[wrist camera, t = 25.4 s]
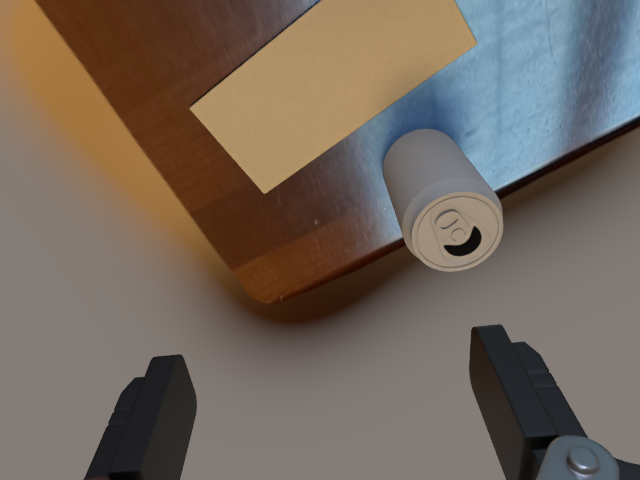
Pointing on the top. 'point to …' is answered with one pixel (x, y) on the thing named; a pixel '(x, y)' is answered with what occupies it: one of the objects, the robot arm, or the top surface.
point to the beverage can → (441, 201)
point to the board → (328, 80)
